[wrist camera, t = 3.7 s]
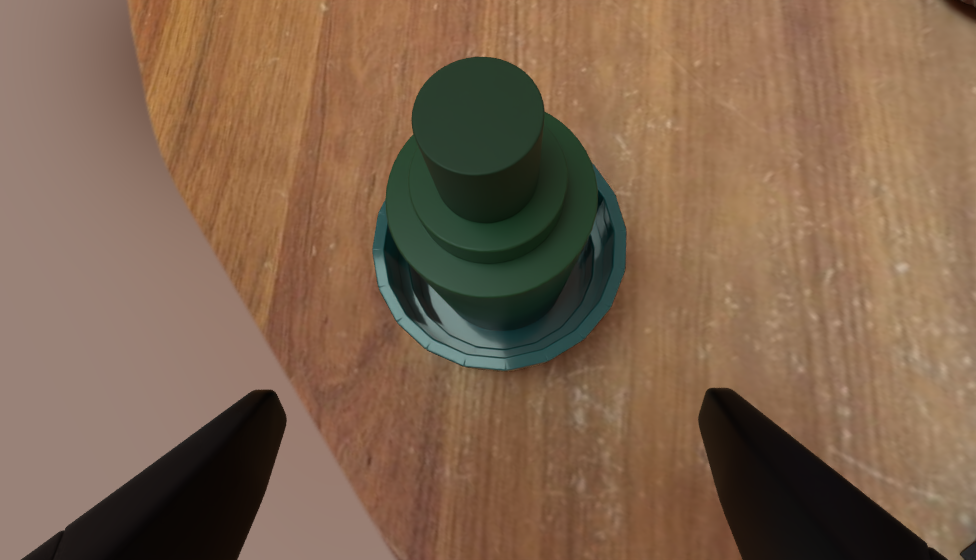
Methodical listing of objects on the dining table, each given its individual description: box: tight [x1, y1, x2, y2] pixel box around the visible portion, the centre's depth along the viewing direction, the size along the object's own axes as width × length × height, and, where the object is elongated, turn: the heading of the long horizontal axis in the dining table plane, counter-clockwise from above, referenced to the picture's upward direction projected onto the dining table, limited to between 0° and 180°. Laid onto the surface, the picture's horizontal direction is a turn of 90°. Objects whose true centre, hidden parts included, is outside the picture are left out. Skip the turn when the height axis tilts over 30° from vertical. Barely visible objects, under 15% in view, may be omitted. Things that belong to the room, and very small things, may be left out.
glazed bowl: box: [372, 162, 627, 372], centre depth 20 cm, size 10×10×5 cm
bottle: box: [385, 57, 598, 331], centre depth 15 cm, size 6×6×13 cm
